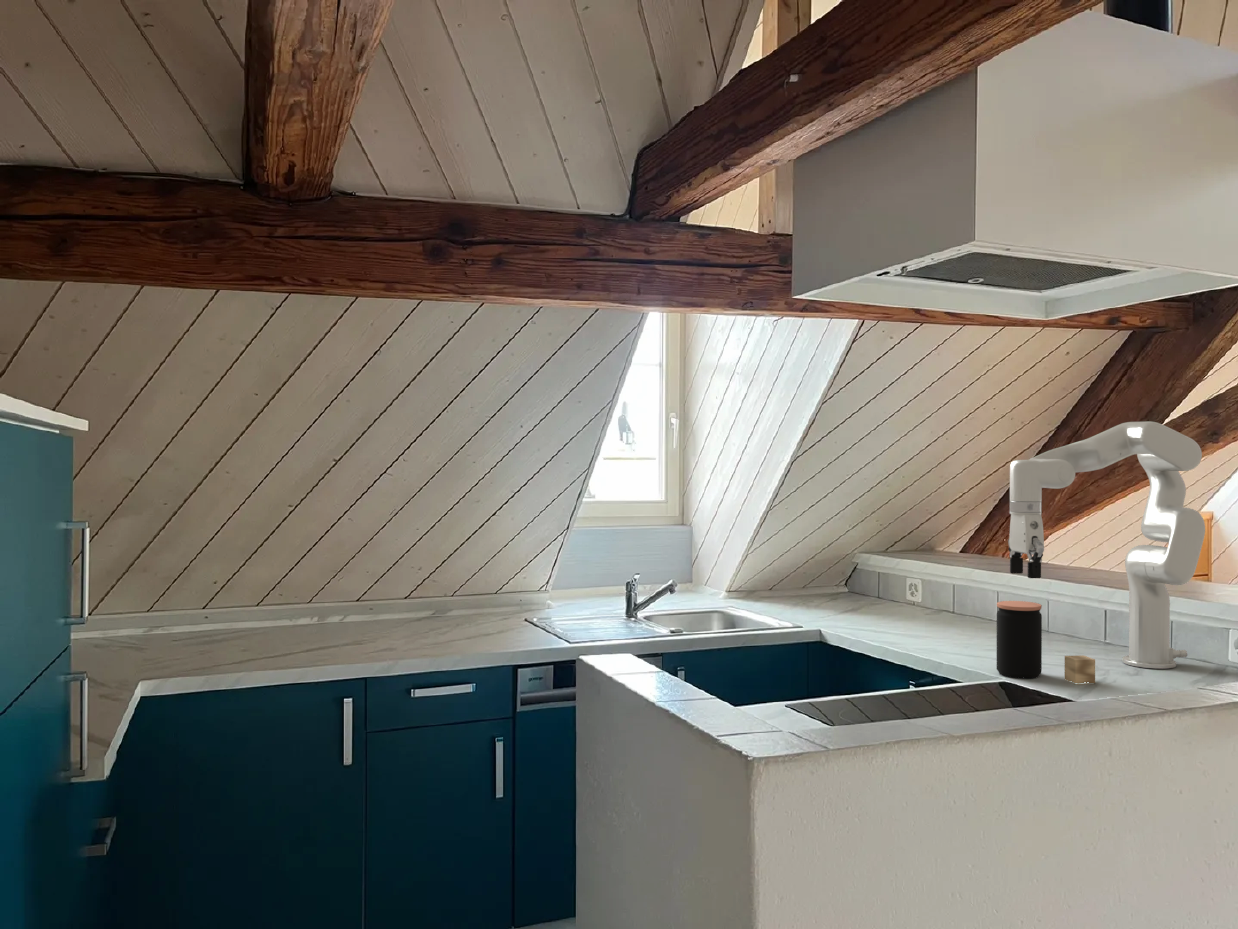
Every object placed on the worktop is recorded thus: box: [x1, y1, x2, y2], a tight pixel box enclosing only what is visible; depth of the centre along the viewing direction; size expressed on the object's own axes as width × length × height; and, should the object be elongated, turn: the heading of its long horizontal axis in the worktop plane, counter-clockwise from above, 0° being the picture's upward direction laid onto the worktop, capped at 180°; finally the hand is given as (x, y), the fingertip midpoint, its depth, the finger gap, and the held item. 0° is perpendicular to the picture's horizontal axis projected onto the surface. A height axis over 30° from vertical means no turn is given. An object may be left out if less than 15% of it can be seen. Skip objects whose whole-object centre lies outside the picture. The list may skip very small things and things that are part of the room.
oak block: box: [1064, 655, 1096, 684], centre depth 245 cm, size 5×5×6 cm
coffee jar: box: [996, 600, 1043, 680], centre depth 253 cm, size 11×11×18 cm
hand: (1025, 575), depth 253 cm, fingers open, 9 cm apart
